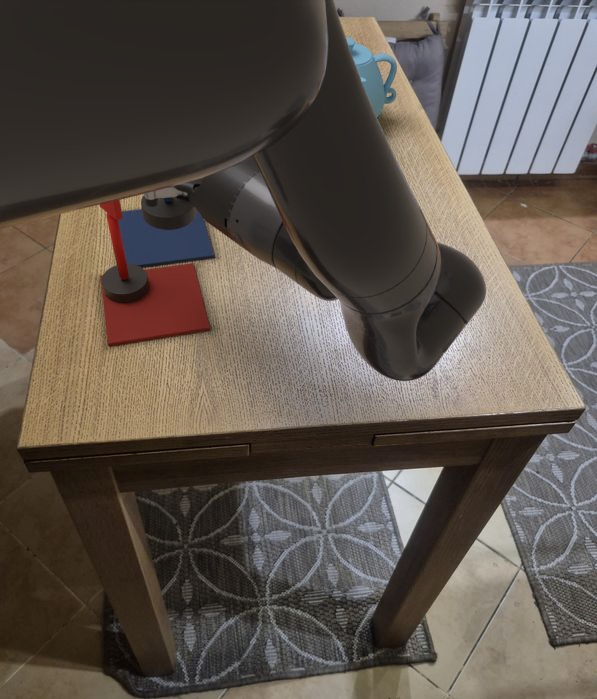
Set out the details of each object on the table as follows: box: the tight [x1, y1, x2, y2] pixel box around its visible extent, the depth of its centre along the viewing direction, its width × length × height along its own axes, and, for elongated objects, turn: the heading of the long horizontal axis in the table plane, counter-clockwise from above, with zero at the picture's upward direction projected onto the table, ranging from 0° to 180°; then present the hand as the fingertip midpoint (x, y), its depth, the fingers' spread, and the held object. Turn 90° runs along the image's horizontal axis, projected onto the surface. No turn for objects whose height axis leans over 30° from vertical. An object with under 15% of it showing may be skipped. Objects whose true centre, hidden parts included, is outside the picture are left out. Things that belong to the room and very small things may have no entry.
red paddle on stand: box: [99, 200, 149, 303], centre depth 72 cm, size 6×6×16 cm
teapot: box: [345, 36, 398, 118], centre depth 104 cm, size 16×20×14 cm
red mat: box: [99, 262, 211, 347], centre depth 77 cm, size 12×12×1 cm
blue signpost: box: [140, 195, 196, 230], centre depth 59 cm, size 6×6×16 cm
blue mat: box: [118, 208, 215, 269], centre depth 86 cm, size 12×12×1 cm
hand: (142, 128), depth 60 cm, fingers closed on blue signpost, 1 cm apart
